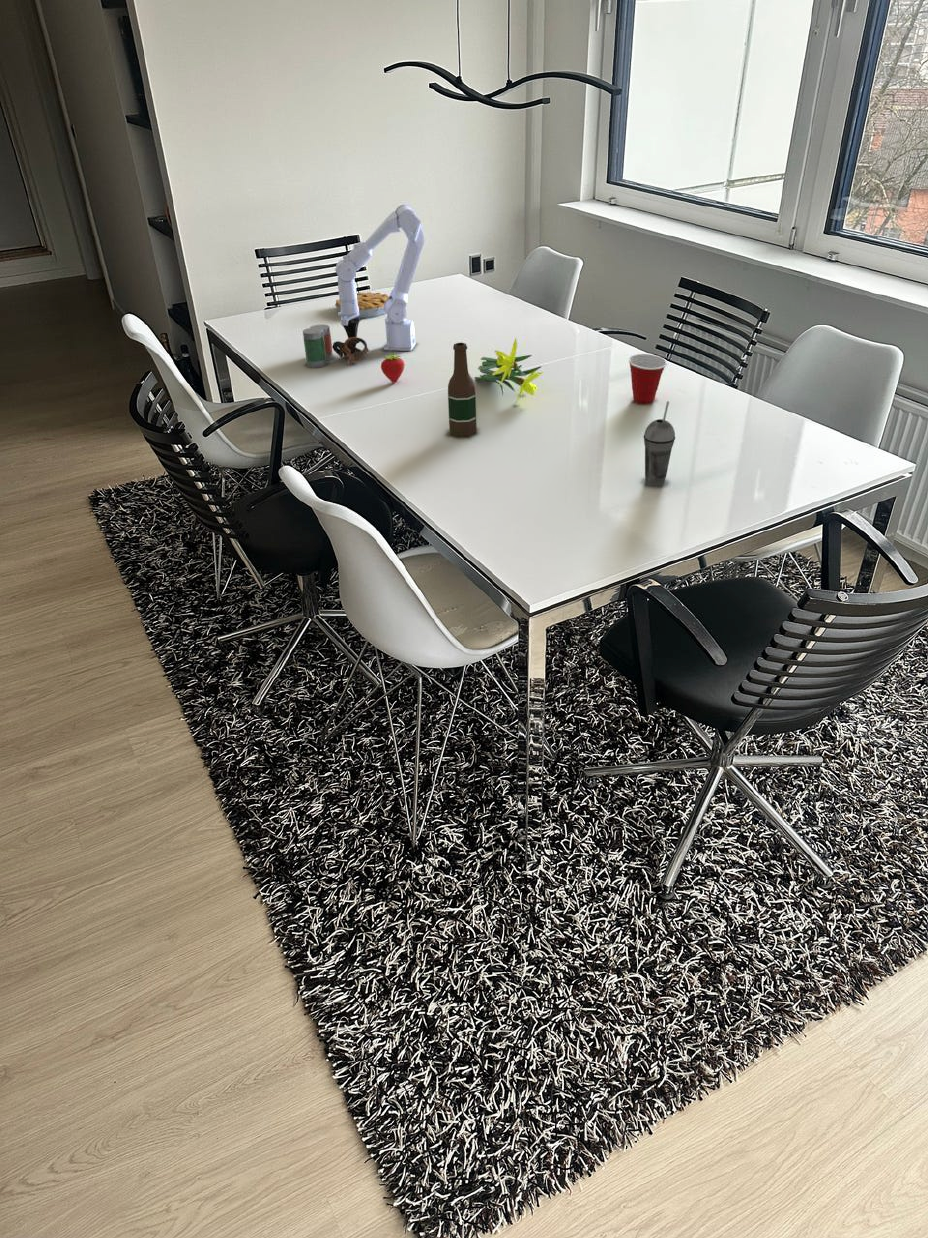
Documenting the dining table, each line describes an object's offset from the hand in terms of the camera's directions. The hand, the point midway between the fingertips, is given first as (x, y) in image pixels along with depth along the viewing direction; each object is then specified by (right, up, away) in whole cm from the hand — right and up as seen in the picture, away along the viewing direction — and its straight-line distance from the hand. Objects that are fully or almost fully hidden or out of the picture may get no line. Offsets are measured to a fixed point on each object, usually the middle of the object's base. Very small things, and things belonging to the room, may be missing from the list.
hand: (352, 340), depth 299 cm
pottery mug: (0, -8, -5) cm, 9 cm away
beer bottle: (+37, -43, -58) cm, 81 cm away
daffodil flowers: (+48, -27, -34) cm, 65 cm away
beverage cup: (+83, -61, -86) cm, 134 cm away
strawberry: (+16, -21, -24) cm, 35 cm away
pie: (-1, +24, +42) cm, 49 cm away
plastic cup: (+89, -31, -43) cm, 104 cm away
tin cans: (-10, -8, -5) cm, 14 cm away
